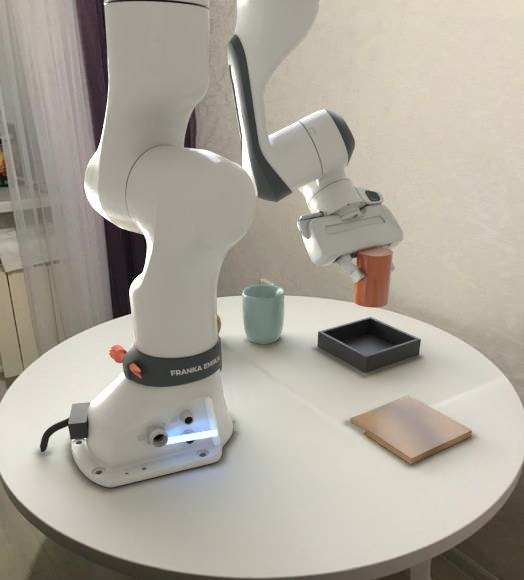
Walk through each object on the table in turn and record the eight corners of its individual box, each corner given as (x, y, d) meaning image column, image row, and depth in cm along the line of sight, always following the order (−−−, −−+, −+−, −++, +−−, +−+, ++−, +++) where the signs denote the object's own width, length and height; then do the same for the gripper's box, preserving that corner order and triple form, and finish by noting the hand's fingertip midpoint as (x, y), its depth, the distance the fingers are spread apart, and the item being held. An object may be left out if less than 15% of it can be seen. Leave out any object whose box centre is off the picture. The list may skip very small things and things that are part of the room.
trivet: (410, 464, 77) (411, 458, 76) (349, 423, 86) (350, 418, 86) (471, 436, 83) (472, 430, 82) (408, 400, 92) (409, 395, 91)
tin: (364, 376, 99) (366, 357, 98) (317, 349, 109) (317, 331, 108) (419, 357, 106) (421, 339, 104) (369, 333, 116) (370, 316, 114)
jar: (369, 310, 99) (374, 258, 95) (346, 299, 103) (349, 249, 100) (395, 303, 102) (400, 252, 98) (371, 293, 107) (375, 244, 103)
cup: (236, 345, 111) (235, 295, 107) (253, 330, 118) (252, 282, 114) (275, 351, 109) (275, 300, 104) (289, 335, 115) (290, 287, 111)
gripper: (302, 205, 95) (343, 278, 92) (387, 191, 106) (425, 255, 103) (284, 227, 100) (321, 297, 97) (366, 212, 111) (402, 274, 108)
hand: (375, 275), depth 100 cm, fingers closed on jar, 6 cm apart
